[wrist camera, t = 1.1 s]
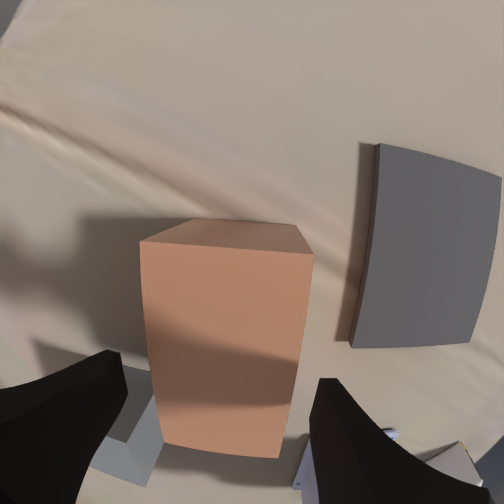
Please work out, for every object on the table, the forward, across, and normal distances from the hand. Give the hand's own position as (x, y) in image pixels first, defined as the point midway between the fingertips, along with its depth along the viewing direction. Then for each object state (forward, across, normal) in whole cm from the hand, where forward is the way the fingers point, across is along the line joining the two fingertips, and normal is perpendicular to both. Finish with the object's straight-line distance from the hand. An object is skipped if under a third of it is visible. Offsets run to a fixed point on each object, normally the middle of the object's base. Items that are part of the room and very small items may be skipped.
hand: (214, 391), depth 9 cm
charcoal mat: (+8, -12, -4) cm, 15 cm away
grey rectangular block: (+8, +8, +9) cm, 14 cm away
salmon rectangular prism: (+8, 0, 0) cm, 8 cm away
